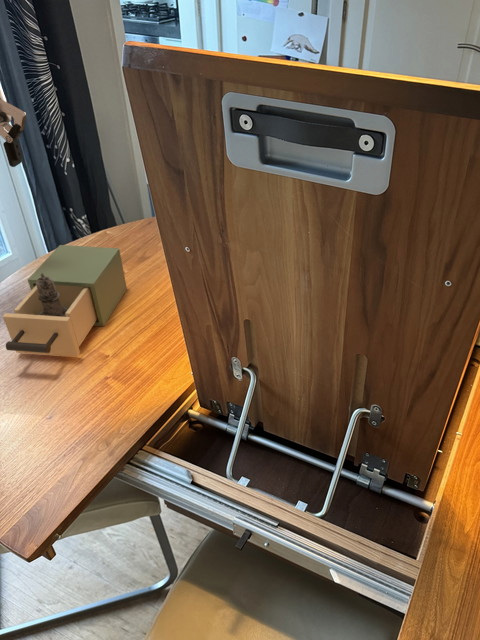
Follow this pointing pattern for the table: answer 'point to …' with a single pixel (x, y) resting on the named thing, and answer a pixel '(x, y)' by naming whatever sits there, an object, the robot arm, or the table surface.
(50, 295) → the brown carved figurine
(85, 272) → the cabinet
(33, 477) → the table surface
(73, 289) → the drawer
